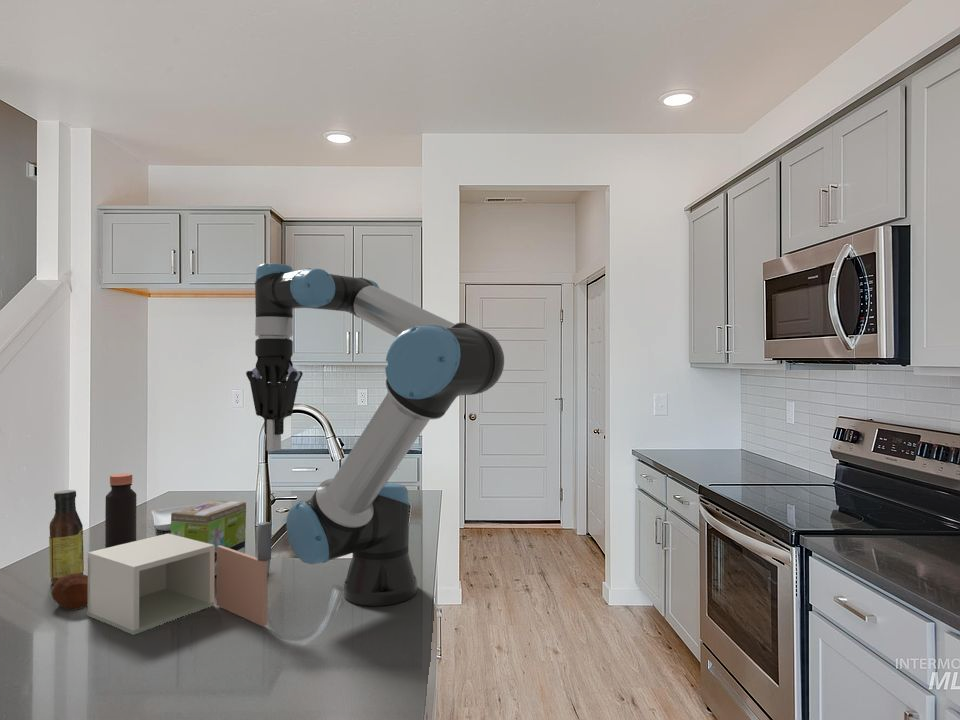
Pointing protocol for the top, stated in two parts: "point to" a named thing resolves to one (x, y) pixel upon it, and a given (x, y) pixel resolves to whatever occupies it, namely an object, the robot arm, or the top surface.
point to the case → (150, 581)
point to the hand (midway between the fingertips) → (273, 450)
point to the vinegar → (120, 511)
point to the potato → (71, 591)
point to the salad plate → (165, 517)
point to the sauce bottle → (65, 537)
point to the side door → (245, 578)
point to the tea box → (213, 524)
